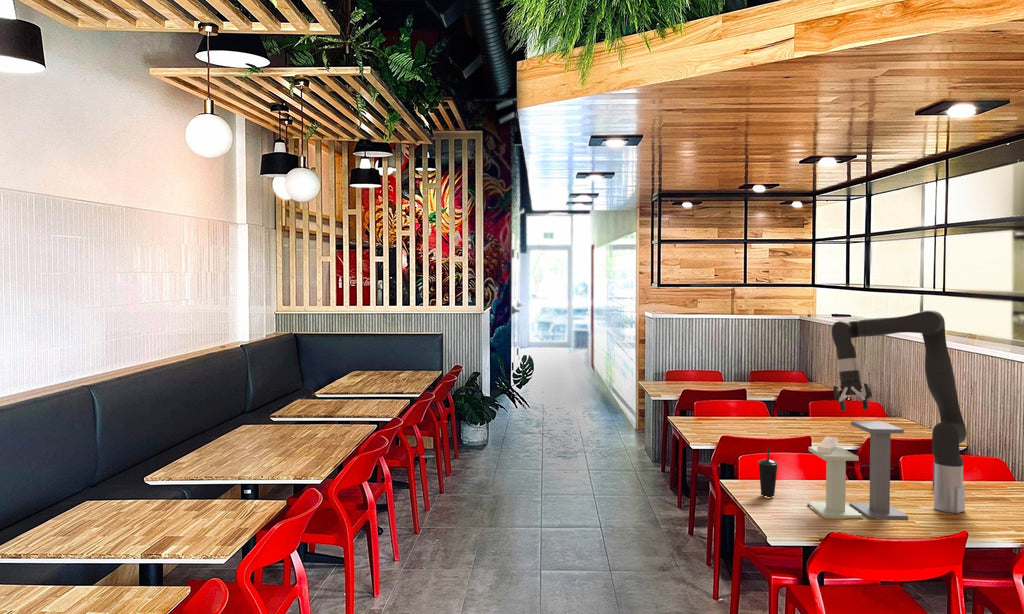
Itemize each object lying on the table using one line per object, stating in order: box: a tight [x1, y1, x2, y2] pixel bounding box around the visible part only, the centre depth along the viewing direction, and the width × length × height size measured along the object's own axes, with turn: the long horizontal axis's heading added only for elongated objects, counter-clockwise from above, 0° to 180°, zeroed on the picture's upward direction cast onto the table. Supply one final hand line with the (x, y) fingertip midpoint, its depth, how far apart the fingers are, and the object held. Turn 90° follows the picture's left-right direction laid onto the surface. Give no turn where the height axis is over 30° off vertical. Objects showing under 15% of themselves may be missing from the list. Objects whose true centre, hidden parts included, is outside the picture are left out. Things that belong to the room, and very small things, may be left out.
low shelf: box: [807, 446, 864, 519], centre depth 273 cm, size 18×14×22 cm
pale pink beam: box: [816, 436, 839, 454], centre depth 280 cm, size 22×4×2 cm, turn 149°
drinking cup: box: [757, 446, 779, 497], centre depth 292 cm, size 8×8×20 cm
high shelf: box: [849, 420, 909, 520], centre depth 272 cm, size 18×14×32 cm
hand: (854, 410), depth 295 cm, fingers open, 8 cm apart
